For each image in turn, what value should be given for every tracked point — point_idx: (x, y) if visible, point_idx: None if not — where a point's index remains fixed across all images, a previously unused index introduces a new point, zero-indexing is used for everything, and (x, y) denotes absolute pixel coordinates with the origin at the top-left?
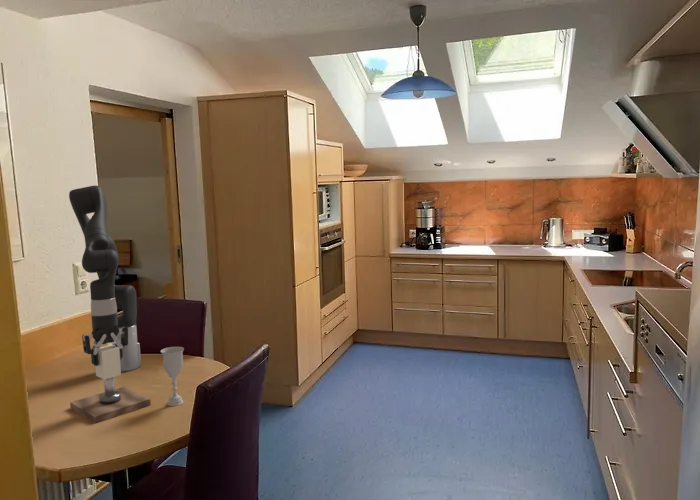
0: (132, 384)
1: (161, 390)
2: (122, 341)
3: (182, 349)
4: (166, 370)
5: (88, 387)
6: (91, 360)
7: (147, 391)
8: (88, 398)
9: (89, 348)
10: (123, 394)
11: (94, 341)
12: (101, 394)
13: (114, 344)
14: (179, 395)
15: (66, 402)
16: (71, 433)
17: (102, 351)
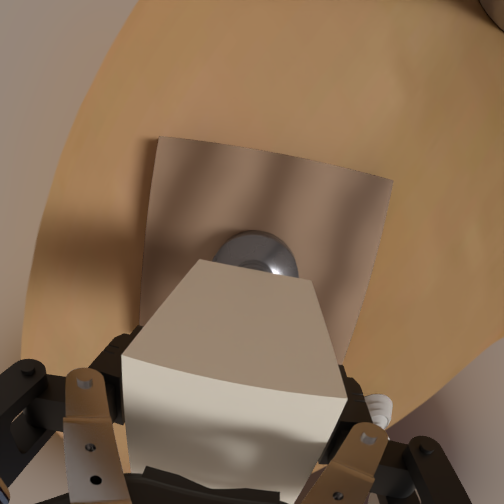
0: (449, 139)
1: (444, 296)
2: (412, 473)
3: None
4: (370, 497)
5: (339, 5)
6: (107, 346)
7: (423, 258)
8: (222, 162)
9: (29, 446)
10: (327, 261)
11: (68, 462)
12: (235, 242)
13: (337, 453)
14: (384, 428)
15: (195, 67)
16: (82, 329)
17: None
